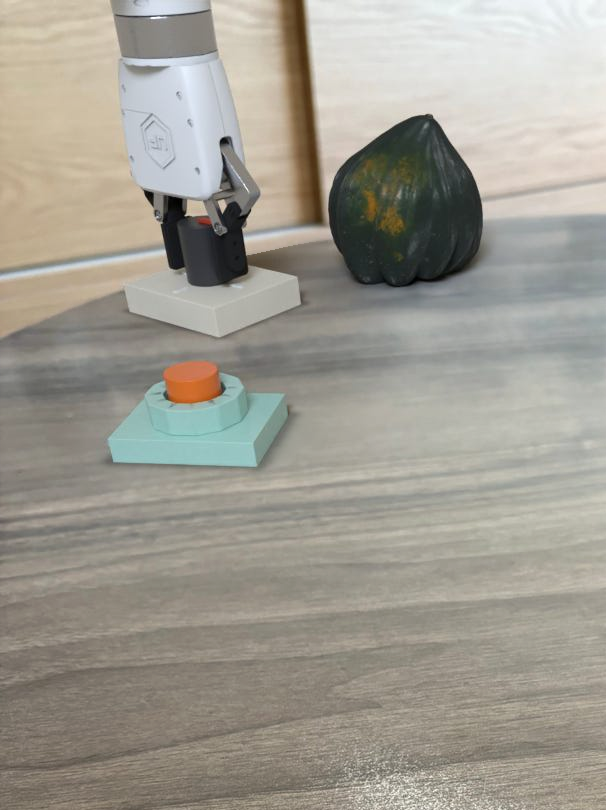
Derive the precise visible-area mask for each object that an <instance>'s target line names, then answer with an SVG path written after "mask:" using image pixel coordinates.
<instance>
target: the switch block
mask: <svg viewBox="0 0 606 810" xmlns="http://www.w3.org/2000/svg"><path fill="white" fill-rule="evenodd" d="M219 377H220V382H221V388H222V394H221V396H218V397H216V398H214V399H212V400H209V401H204V402H199V403H193V404H182V403H174V402H171V401H170V400H169V399H168V394H167V390H166V385H165V381H164V380H162V381H160V382H157V383H154V384H153V385H152V386H150V388H149V389H148V390H147V391H146V392H145V393H144V396H143V397H144V398H143V399H142V400H141V401H140V402H139V403H138V404H137V406H136V407H135V408H134V409H133V410H132V411H131V412H130V413H129V414H128V415H127V417H125V419H124V420H123V421H122V422H121V423H120V424H119V425H118V427H117V428H116V429H115V430H114V431H113V432H112V433H111V434H110V435H109V436H108V438H107V442H108V446H109V450H110V454H111V457H112V461H113V463H128V464H129V463H131V464H157V465H159V464H161V465H189V466H190V465H191V466H192V465H193V466H224V467H253V468H254V467H255V468H256V467H258V466H259V464H260V463H261V462H262V459H263V458H264V456H266V455H265V454H266V453H267V452H268V450H269V449H270V447H271V445H272V444H273V442H274V440H275V438H276V436H277V435H278V434H279V432H280V430H281V429H282V427H283V425H284V424H285V422H286V420H287V419H288V417H289V412H288V406H287V405H288V404H287V399H286V393H272V392H271V393H270V392H246V389H245V386H244V384H243V382H242V381H241V379H240V378H239V377H238V376H237V377H236V376H234V375H231V374H227V373H224V372H219Z"/></svg>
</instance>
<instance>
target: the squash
mask: <svg viewBox="0 0 606 810" xmlns="http://www.w3.org/2000/svg"><path fill="white" fill-rule="evenodd" d="M327 200H328V201H327V212H328V213H327V214H328V225H329V229H330V233H331V237H332V240H333V242H334V245H335V247H336V248H337V250H338V252H339V253H340V254H341V255H342V257H343V260H344V262H345V266H346V267H347V269H348V271H349V272H350V273H351V275H353V277H355V278H356V279H357V280H358V281H359V282H361V283H363V284H365V285H379V284H385V283H388V284H390V285H392V286H394V287H402V286H405V285H408V284H410V283H412V281H413V280H414V279H415V278H416V277H417V278H419V279H421V280H430V279H431V280H432V279H435V278H437V277H439V276H440V275H445V274H449V273H455V272H458V271H460V270H462V269H464V268H465V267H466V266H468V265H469V264H470V263H471V261H472V260H474V258H475V256H476V255H477V253H478V251H479V249H480V245H481V241H482V235H483V230H484V229H483V228H484V211H483V202H482V198H481V194H480V191H479V187H478V183H477V180H476V178H475V177H474V174H473V172H472V171H471V168H469V166H468V164H467V163H466V161H465V160H464V159H463V157H462V156H461V154H460V153H459V152H458V150H457V149H456V147H455V146H454V145H453V144H452V142H451V140H450V139H449V137H448V136H447V134H446V132H445V131H444V129H443V127H442V125H441V124H440V123H439V122H438V121H437V120H436V118H434V115H433V114H431V113H425V114H417V115H414V116H413V115H412V116H410V117H408V118H406V119H404V120H402V121H400V122H398V123H396V124H394V125H393V126H391V127H390V128H389V129H387V130H386V131H384V132H382V133H381V134H379V135H378V136H376V137H375V138H374V139H373V140H371V141H370V142H369V143H367V144H366V145H365V146H364V147H363V148H361V149H359V150H358V151H356V152H355V153H354V154H352V155H350V157H348V158H347V159H346V160H345V161H344V163H343V164H342V165H341V166H339V168H338V170H337V171H336V173H335V175H334V177H333V180H332V184H331V186H330V190H329V194H328V199H327Z"/></svg>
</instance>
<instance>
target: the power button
mask: <svg viewBox="0 0 606 810" xmlns="http://www.w3.org/2000/svg"><path fill="white" fill-rule="evenodd" d="M219 373H220V372H219V366H218V365H216V364H215V363H213V362H210V361H206V360H191V361H184V362H183V361H182V362H180V363H176V364H174V365H171V366H169V367H168V368H166V369H165V370H164V371H163V375H162V376H163V381H165V385H166V390H167V394H168V399H169V400H170V401H171V402H174V403H182V404H193V403H199V402H204V401H209V400H212V399H214V398H216V397H218V396H221V394H222V388H221V382H220V377H219Z"/></svg>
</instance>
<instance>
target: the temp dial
mask: <svg viewBox="0 0 606 810" xmlns="http://www.w3.org/2000/svg"><path fill="white" fill-rule="evenodd" d="M177 228H178V234H179V239H180V244H181V249H182V255H183V260H184V265H185V270H186V276H187V281H188V283H189V284H191V285H195V286H215V285H220V284H224V283H227V282H229V281H227V282H221V281H219V280H218V279H217V275H216V270H215V264H214V258H213V252H212V247H211V241H210V234H214V233H215V231H214V229H213V226H212V224H211V221H210V218H209V216H208V214H207V215H192V217H188V218H185V219H182V220H180V221H178V222H177Z"/></svg>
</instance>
